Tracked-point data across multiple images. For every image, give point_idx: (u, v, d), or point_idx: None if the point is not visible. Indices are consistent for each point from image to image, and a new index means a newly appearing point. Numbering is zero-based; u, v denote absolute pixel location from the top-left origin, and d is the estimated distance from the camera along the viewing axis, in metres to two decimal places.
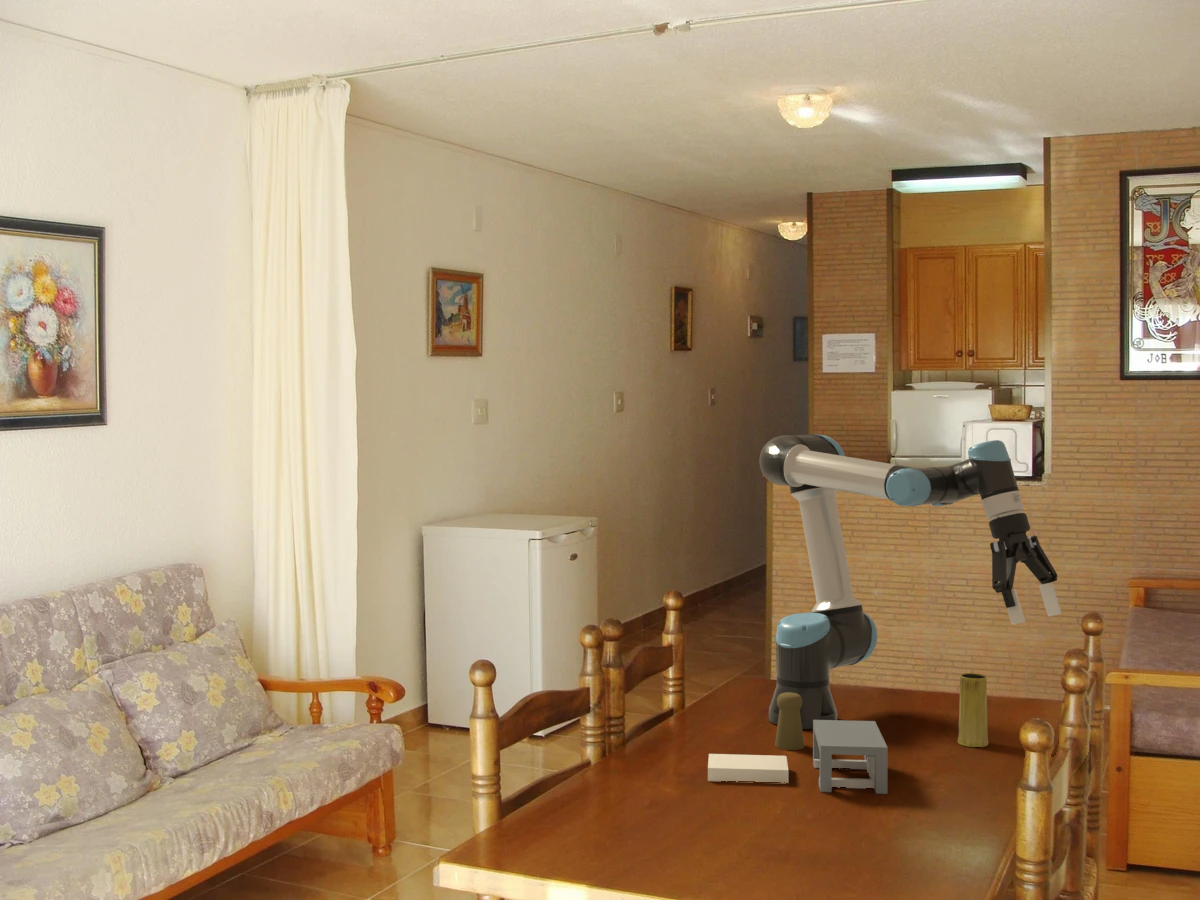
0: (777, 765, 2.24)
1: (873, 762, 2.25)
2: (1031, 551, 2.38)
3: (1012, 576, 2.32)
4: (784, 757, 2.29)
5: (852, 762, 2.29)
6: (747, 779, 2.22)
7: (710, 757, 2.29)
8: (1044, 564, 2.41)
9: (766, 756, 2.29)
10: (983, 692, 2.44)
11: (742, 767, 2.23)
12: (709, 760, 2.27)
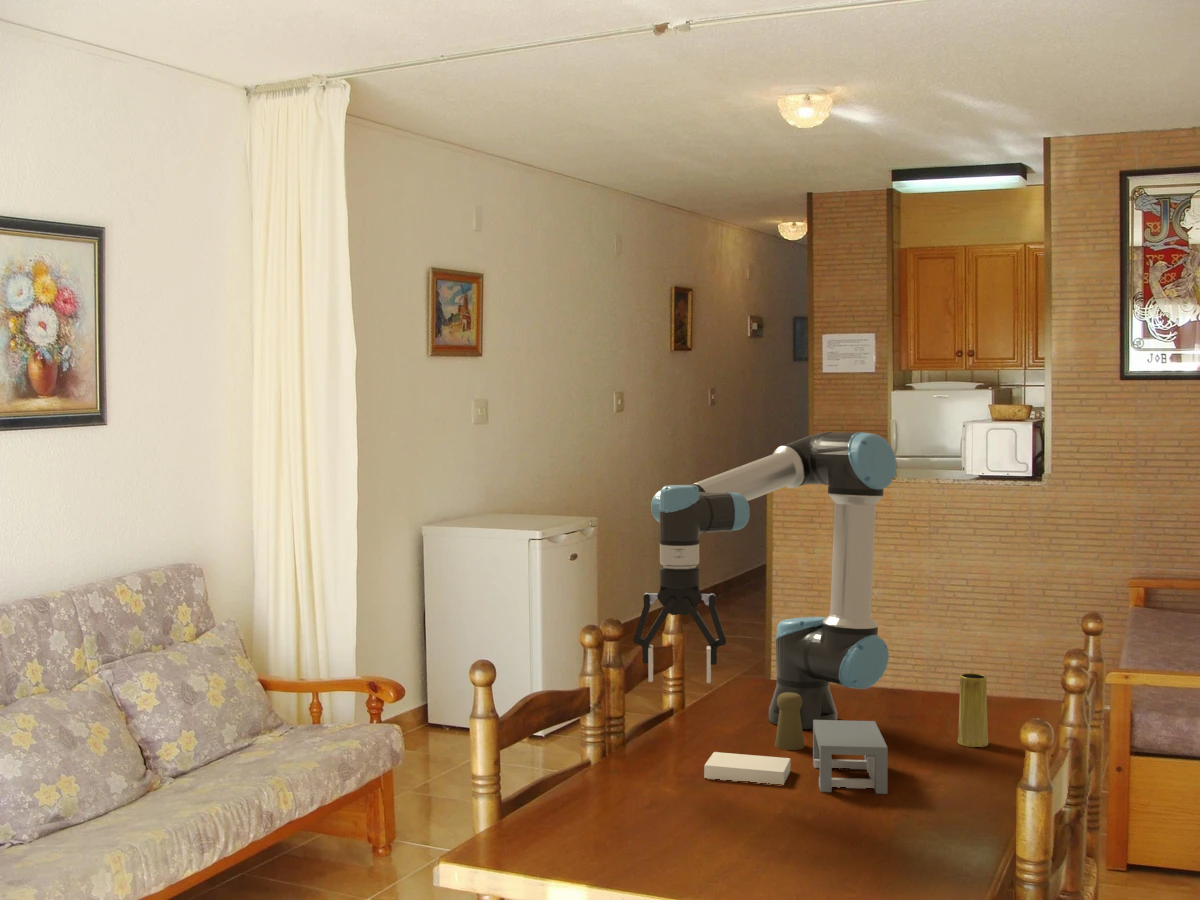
0: (775, 767, 2.23)
1: (873, 762, 2.25)
2: (690, 609, 2.24)
3: (652, 633, 2.26)
4: (787, 759, 2.27)
5: (852, 762, 2.29)
6: (742, 778, 2.22)
7: (713, 755, 2.30)
8: (715, 626, 2.25)
9: (769, 757, 2.29)
10: (983, 692, 2.44)
11: (739, 766, 2.23)
12: (710, 758, 2.28)
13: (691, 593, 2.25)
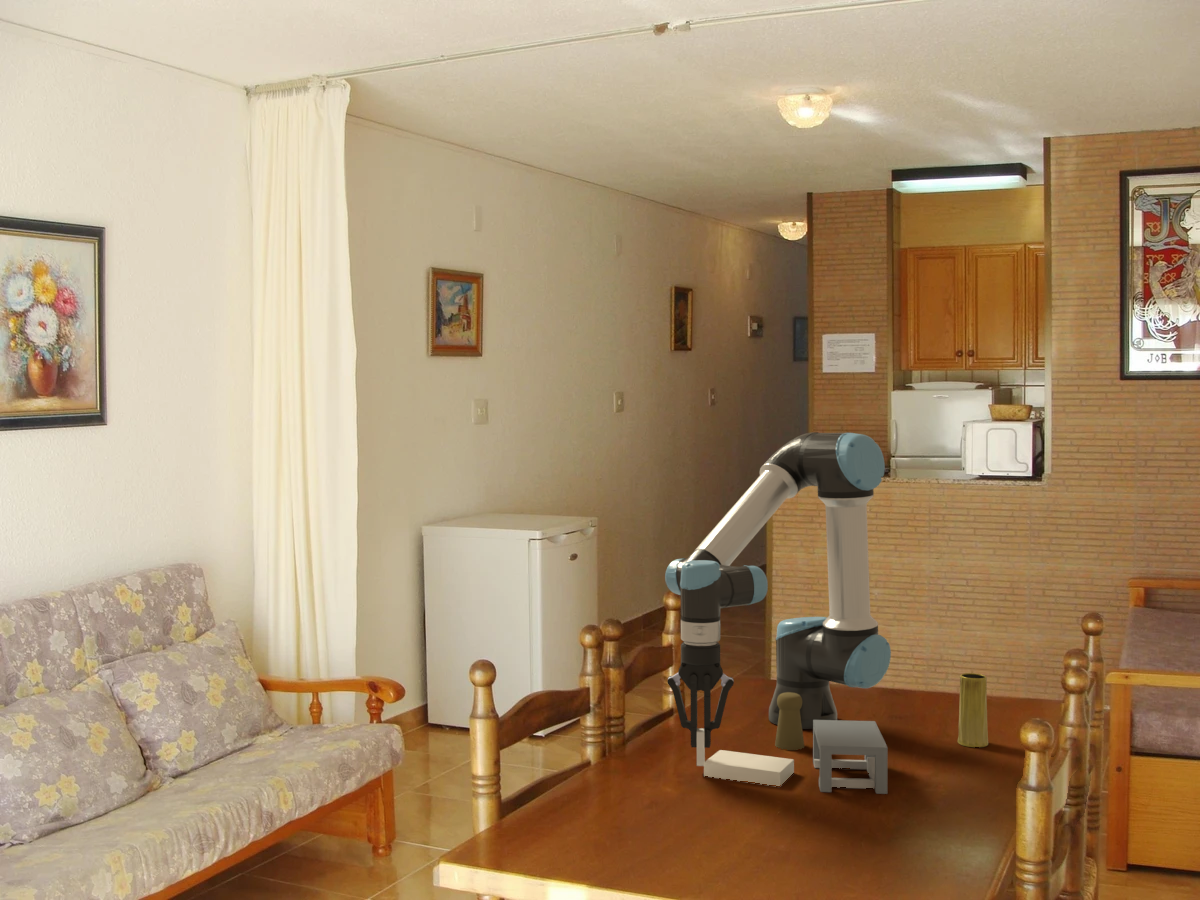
0: (774, 767, 2.22)
1: (873, 762, 2.25)
2: (706, 687, 2.25)
3: (693, 715, 2.26)
4: (790, 760, 2.26)
5: (852, 762, 2.29)
6: (740, 777, 2.22)
7: (717, 753, 2.31)
8: (717, 708, 2.26)
9: (773, 757, 2.28)
10: (983, 692, 2.44)
11: (737, 765, 2.23)
12: (713, 755, 2.29)
13: (715, 668, 2.25)
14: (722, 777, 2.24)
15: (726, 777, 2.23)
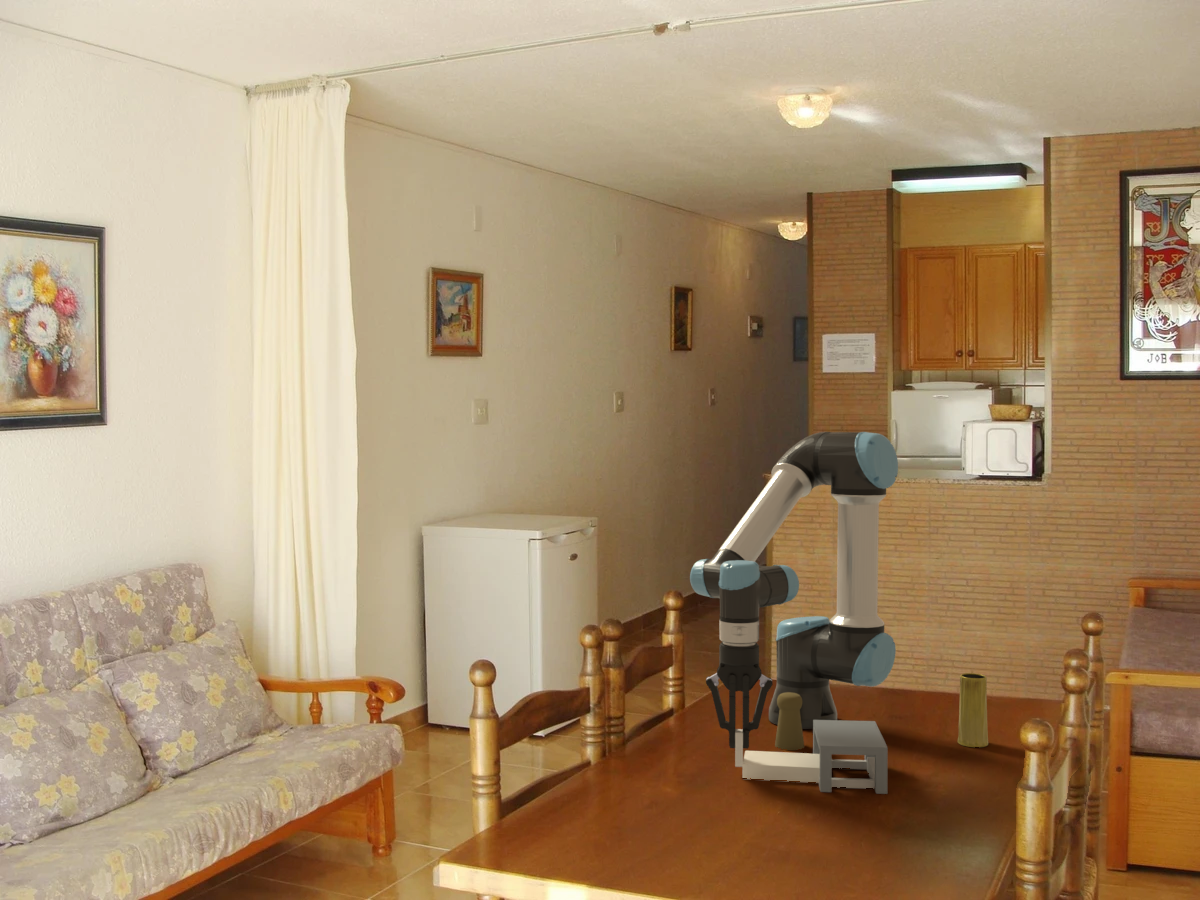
0: (813, 763, 2.24)
1: (873, 762, 2.25)
2: (745, 687, 2.24)
3: (732, 716, 2.25)
4: None
5: (852, 762, 2.29)
6: (781, 776, 2.22)
7: (746, 754, 2.30)
8: (756, 709, 2.25)
9: (802, 754, 2.30)
10: (983, 692, 2.44)
11: (777, 764, 2.23)
12: (745, 757, 2.28)
13: (753, 668, 2.24)
14: (762, 778, 2.23)
15: (766, 777, 2.23)
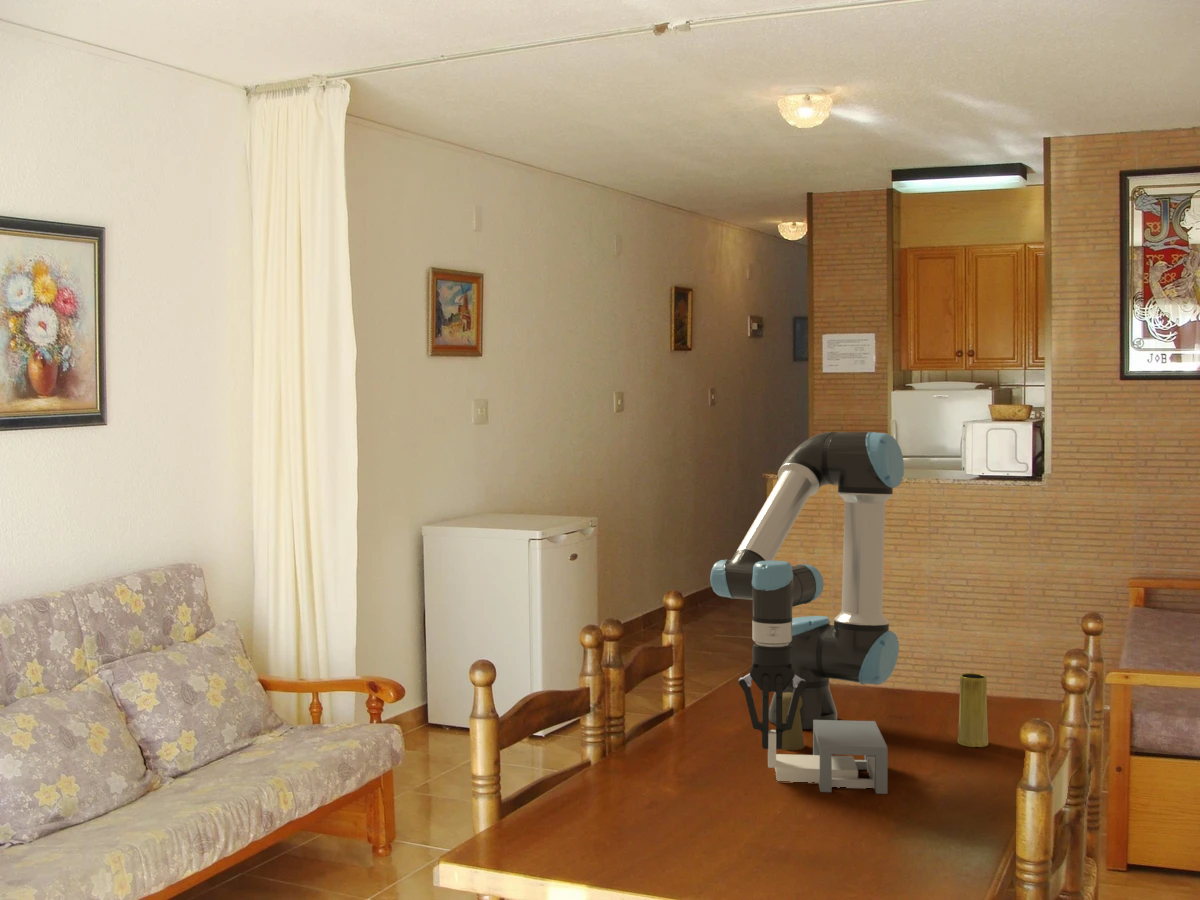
0: (846, 765, 2.23)
1: (873, 762, 2.25)
2: (778, 688, 2.23)
3: (765, 717, 2.24)
4: (851, 757, 2.28)
5: None
6: (816, 779, 2.21)
7: (777, 757, 2.28)
8: (789, 709, 2.24)
9: (833, 756, 2.29)
10: (983, 692, 2.44)
11: (811, 767, 2.22)
12: (776, 760, 2.26)
13: (787, 669, 2.24)
14: (796, 781, 2.21)
15: (801, 781, 2.21)
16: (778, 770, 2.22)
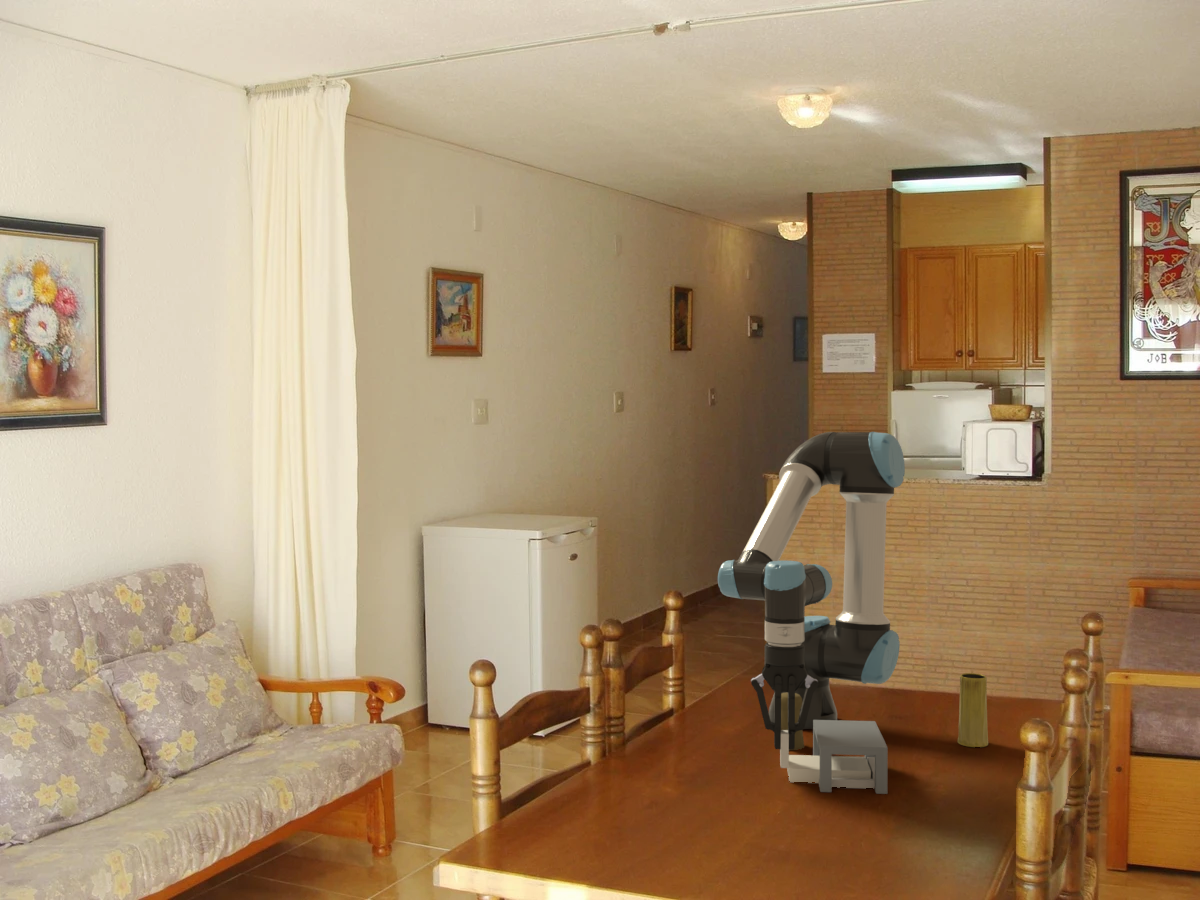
0: (859, 766, 2.23)
1: (873, 762, 2.25)
2: (790, 688, 2.23)
3: (778, 717, 2.24)
4: (863, 758, 2.28)
5: None
6: None
7: (789, 758, 2.28)
8: (801, 709, 2.24)
9: (845, 757, 2.28)
10: (983, 692, 2.44)
11: None
12: (789, 761, 2.26)
13: (799, 669, 2.23)
14: (809, 782, 2.21)
15: None
16: (791, 771, 2.21)
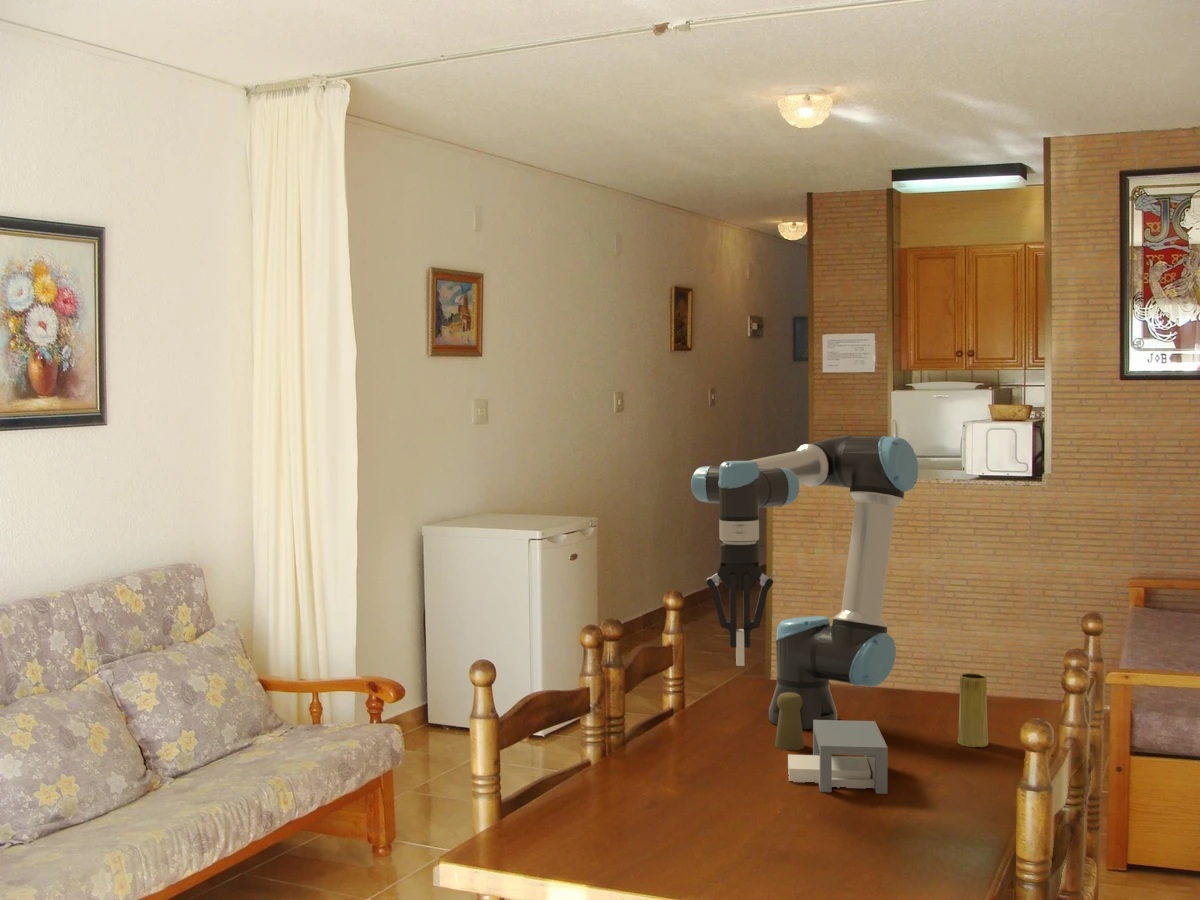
0: (859, 766, 2.22)
1: (873, 762, 2.25)
2: (745, 586, 2.24)
3: (733, 615, 2.25)
4: (864, 758, 2.28)
5: None
6: None
7: (790, 758, 2.28)
8: (756, 608, 2.25)
9: (846, 757, 2.28)
10: (983, 692, 2.44)
11: None
12: (789, 761, 2.26)
13: (754, 567, 2.25)
14: None
15: (813, 781, 2.21)
16: (790, 771, 2.22)
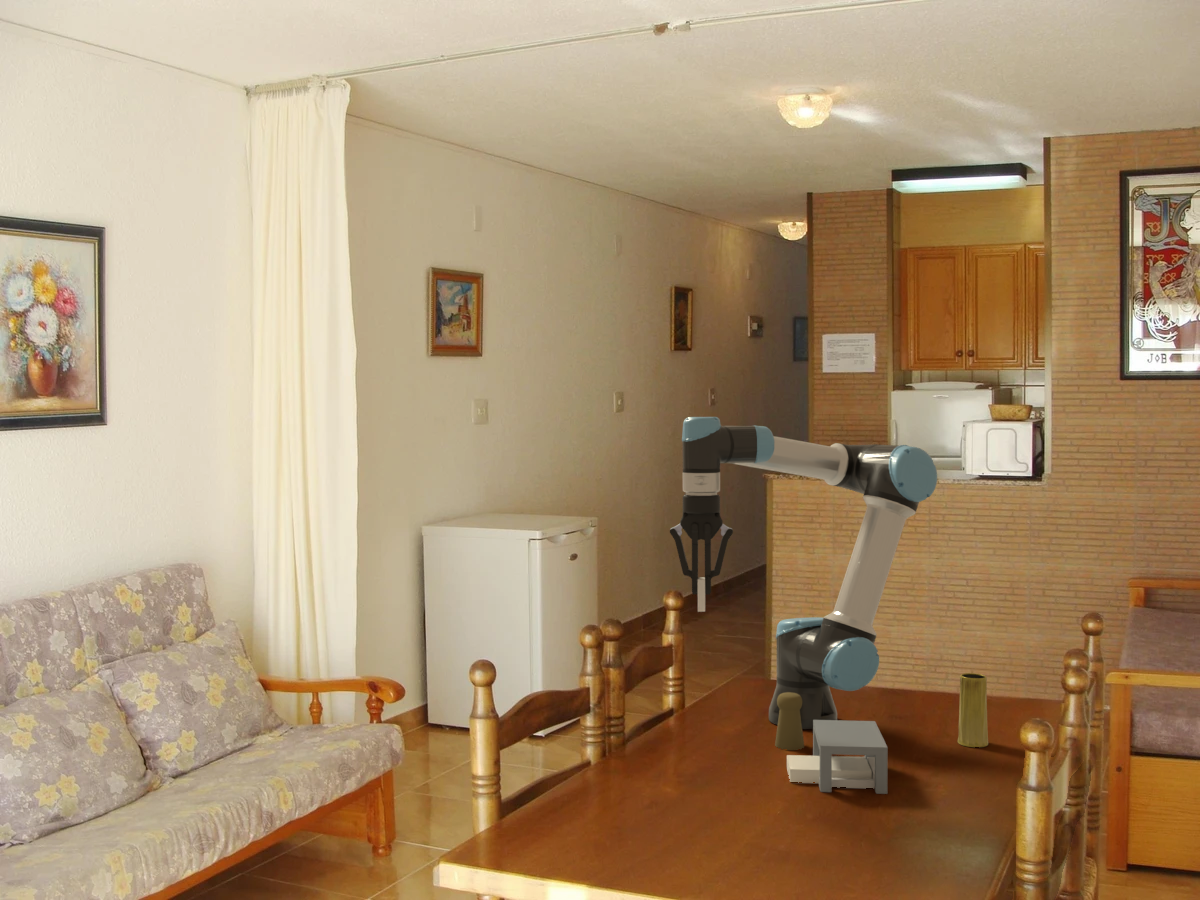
0: (859, 766, 2.23)
1: (873, 762, 2.25)
2: (706, 535, 2.36)
3: (695, 563, 2.37)
4: (863, 758, 2.28)
5: None
6: None
7: (789, 758, 2.28)
8: (717, 556, 2.37)
9: (845, 757, 2.29)
10: (983, 692, 2.44)
11: None
12: (789, 761, 2.26)
13: (715, 518, 2.36)
14: (810, 782, 2.21)
15: None
16: (792, 771, 2.21)
